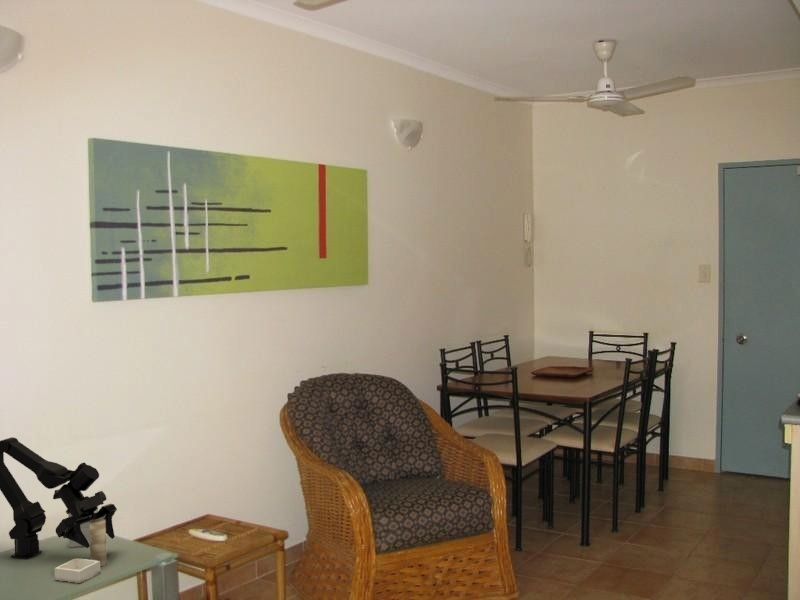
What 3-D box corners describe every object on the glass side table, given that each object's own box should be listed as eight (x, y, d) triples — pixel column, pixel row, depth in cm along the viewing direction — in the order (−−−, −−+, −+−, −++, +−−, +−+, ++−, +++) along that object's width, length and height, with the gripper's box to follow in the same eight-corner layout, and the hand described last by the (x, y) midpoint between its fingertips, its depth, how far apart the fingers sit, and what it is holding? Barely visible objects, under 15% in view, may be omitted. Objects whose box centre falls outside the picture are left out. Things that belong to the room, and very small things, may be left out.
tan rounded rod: (87, 566, 241) (86, 522, 241) (97, 560, 245) (96, 518, 245) (99, 567, 240) (98, 524, 239) (109, 562, 244) (108, 519, 243)
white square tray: (54, 580, 230) (54, 568, 230) (76, 569, 238) (75, 557, 238) (79, 583, 227) (79, 571, 227) (100, 572, 235) (100, 561, 235)
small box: (99, 539, 265) (98, 500, 265) (95, 546, 259) (94, 505, 258) (73, 541, 264) (72, 501, 263) (68, 547, 258) (67, 507, 257)
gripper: (60, 492, 235) (88, 535, 231) (111, 477, 252) (138, 517, 247) (43, 515, 240) (70, 558, 235) (95, 499, 256) (120, 539, 251)
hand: (101, 542), depth 242 cm, fingers open, 9 cm apart
